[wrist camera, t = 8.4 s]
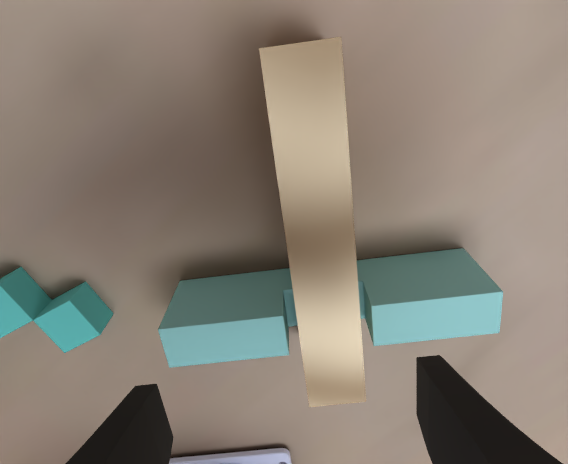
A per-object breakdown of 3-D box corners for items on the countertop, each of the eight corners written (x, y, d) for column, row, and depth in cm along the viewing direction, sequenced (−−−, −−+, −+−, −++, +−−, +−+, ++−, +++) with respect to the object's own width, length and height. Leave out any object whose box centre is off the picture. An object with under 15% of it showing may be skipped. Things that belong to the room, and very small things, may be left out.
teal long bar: (461, 283, 21) (499, 332, 17) (188, 314, 22) (169, 367, 18) (463, 248, 20) (503, 291, 17) (179, 280, 21) (158, 329, 17)
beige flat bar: (349, 329, 22) (366, 401, 18) (303, 333, 22) (309, 407, 18) (325, 40, 17) (341, 36, 12) (265, 49, 17) (258, 48, 12)
